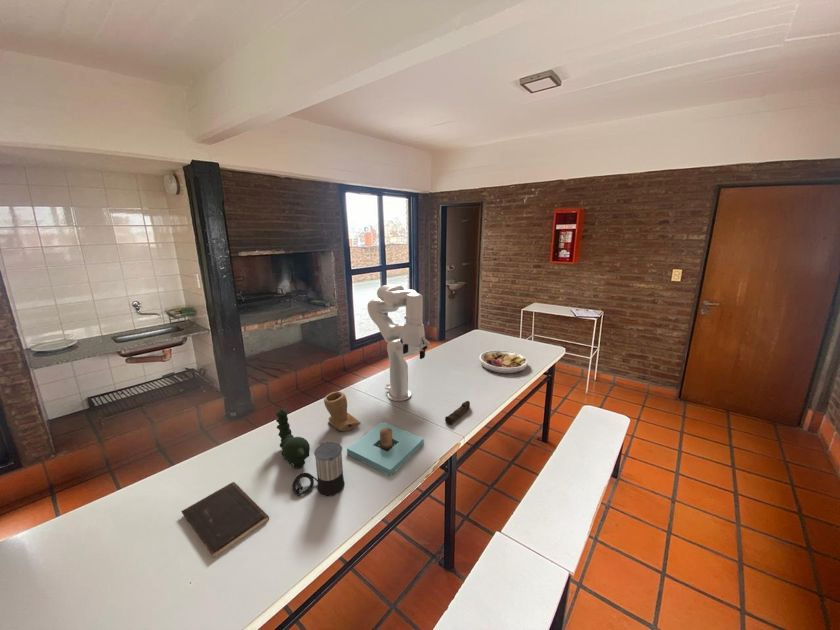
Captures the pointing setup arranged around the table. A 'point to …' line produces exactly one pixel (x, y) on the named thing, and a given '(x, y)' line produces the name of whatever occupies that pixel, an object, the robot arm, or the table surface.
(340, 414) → the tan boot-shaped piece
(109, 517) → the table surface
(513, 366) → the bowl
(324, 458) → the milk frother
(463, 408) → the hand tool
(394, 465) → the square hole plate
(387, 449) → the cylinder
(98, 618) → the table surface
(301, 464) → the toy figurine
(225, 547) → the hardcover book
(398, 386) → the robot arm
